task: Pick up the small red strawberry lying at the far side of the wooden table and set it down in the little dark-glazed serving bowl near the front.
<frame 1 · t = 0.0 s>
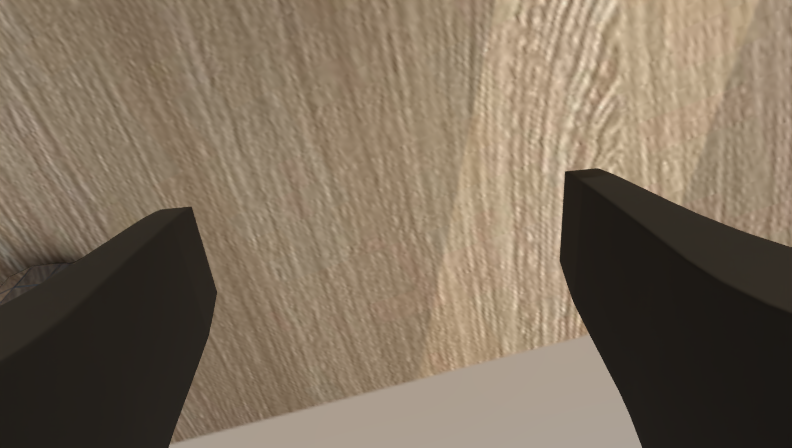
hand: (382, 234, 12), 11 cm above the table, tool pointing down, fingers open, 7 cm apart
bowl: (81, 319, 26), on the table
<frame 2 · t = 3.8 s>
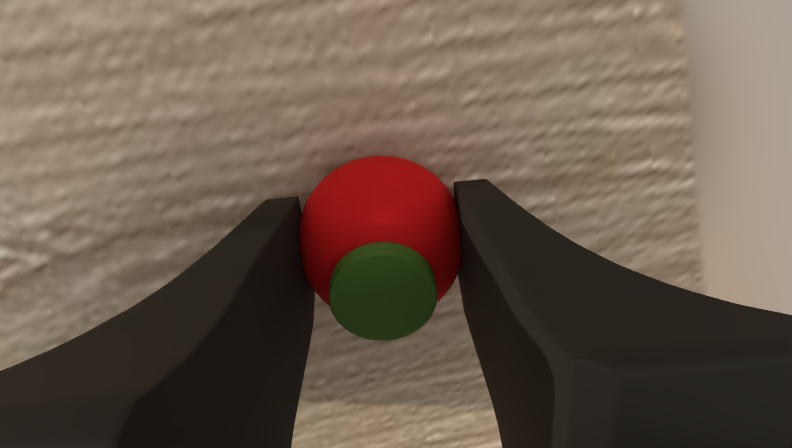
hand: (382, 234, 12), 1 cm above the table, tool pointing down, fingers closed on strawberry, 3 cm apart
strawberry: (380, 200, 13), on the table, touching gripper
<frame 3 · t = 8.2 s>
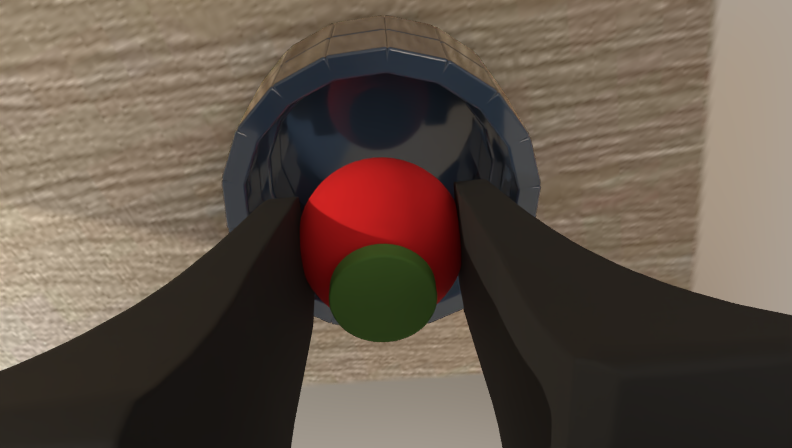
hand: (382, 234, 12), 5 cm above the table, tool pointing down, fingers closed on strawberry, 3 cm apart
bowl: (380, 144, 16), on the table
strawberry: (380, 201, 13), point 3 cm above the table, touching gripper
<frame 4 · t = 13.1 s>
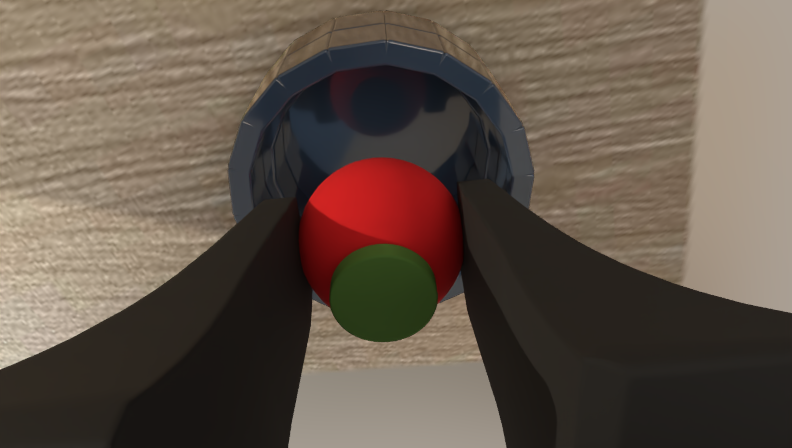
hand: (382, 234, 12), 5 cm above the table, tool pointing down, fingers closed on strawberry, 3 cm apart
bowl: (380, 135, 16), on the table
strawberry: (380, 201, 13), point 4 cm above the table, touching gripper
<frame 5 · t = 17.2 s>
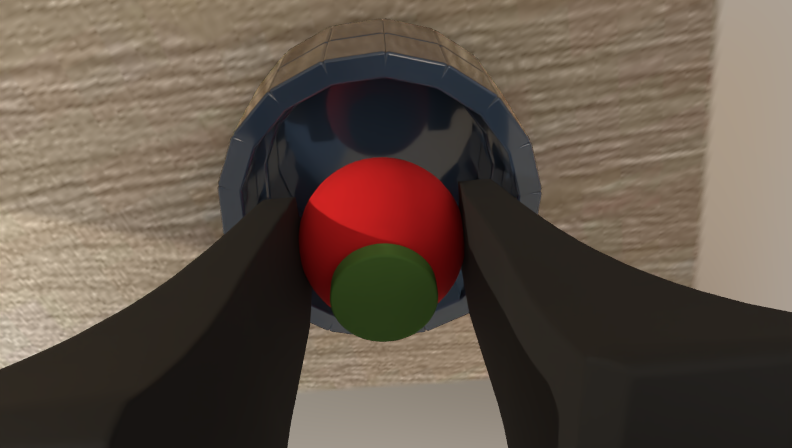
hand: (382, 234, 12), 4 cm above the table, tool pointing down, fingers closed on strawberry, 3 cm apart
bowl: (379, 148, 15), on the table
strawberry: (380, 201, 13), point 3 cm above the table, touching gripper
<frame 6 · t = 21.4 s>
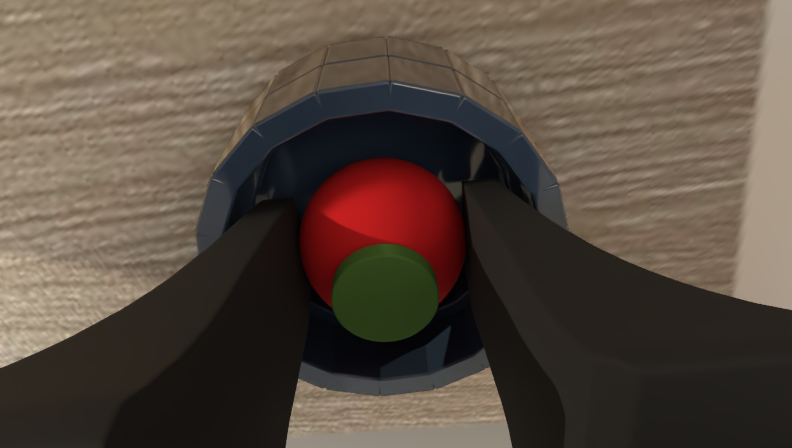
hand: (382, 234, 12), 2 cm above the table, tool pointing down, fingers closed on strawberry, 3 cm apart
bowl: (381, 178, 14), on the table
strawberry: (381, 201, 13), point 1 cm above the table, touching gripper
when the fingers open (6 cm above the table, at t = 22.5 s): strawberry drops 4 cm, resting on bowl.
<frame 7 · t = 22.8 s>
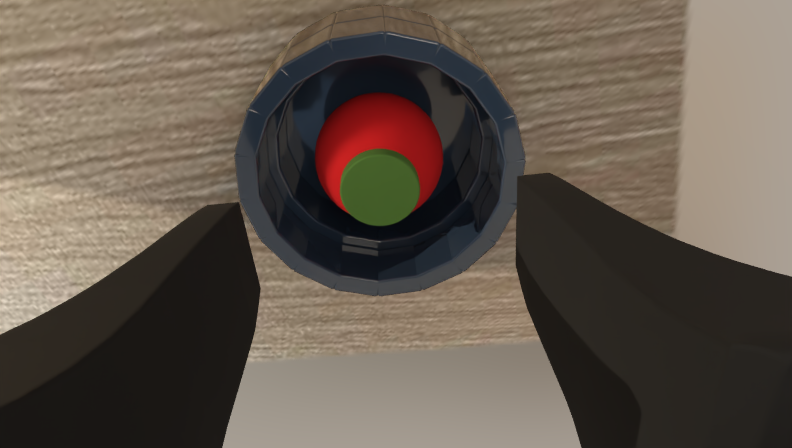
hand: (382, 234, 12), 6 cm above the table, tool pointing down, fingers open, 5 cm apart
bowl: (379, 125, 17), on the table
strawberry: (378, 133, 16), point 1 cm above the table, touching bowl
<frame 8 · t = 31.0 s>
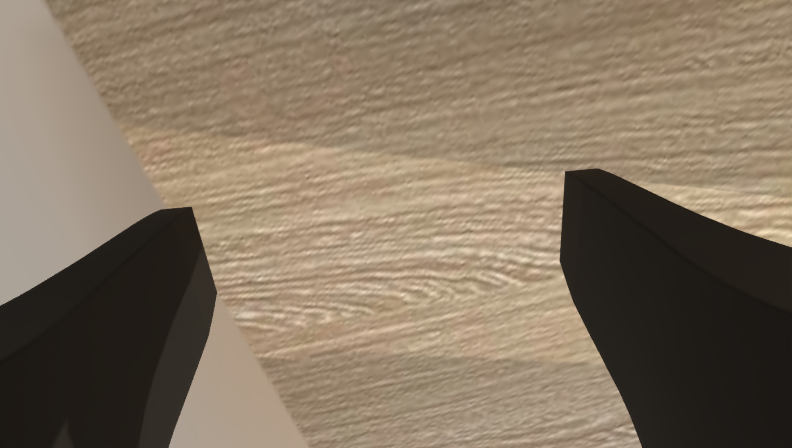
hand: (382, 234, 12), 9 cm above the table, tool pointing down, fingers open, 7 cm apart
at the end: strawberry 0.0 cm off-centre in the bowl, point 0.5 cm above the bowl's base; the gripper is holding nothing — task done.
